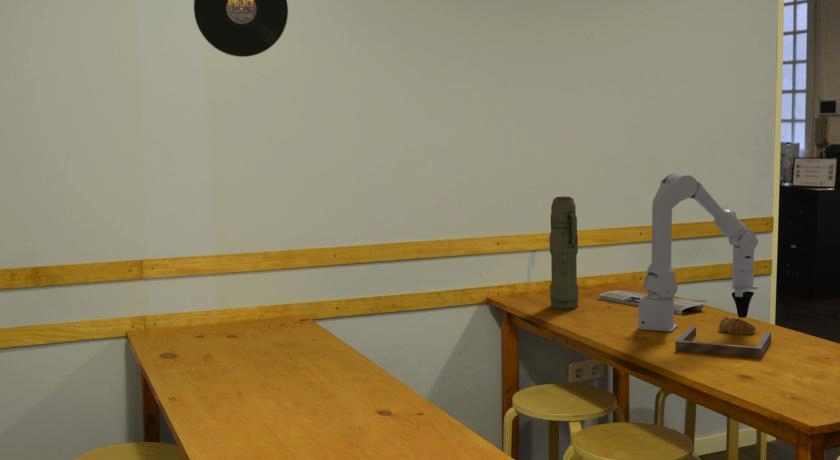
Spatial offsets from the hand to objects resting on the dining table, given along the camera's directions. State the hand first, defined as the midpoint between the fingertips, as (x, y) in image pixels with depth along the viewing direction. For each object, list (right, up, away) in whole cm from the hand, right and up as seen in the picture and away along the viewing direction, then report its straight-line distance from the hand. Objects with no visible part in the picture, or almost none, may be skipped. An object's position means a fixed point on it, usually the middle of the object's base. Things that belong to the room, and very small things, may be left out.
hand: (742, 317), depth 279 cm
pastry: (-5, -4, -10) cm, 11 cm away
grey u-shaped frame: (-13, -5, -25) cm, 29 cm away
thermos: (-47, 0, +29) cm, 55 cm away
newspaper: (-19, +1, +29) cm, 35 cm away
